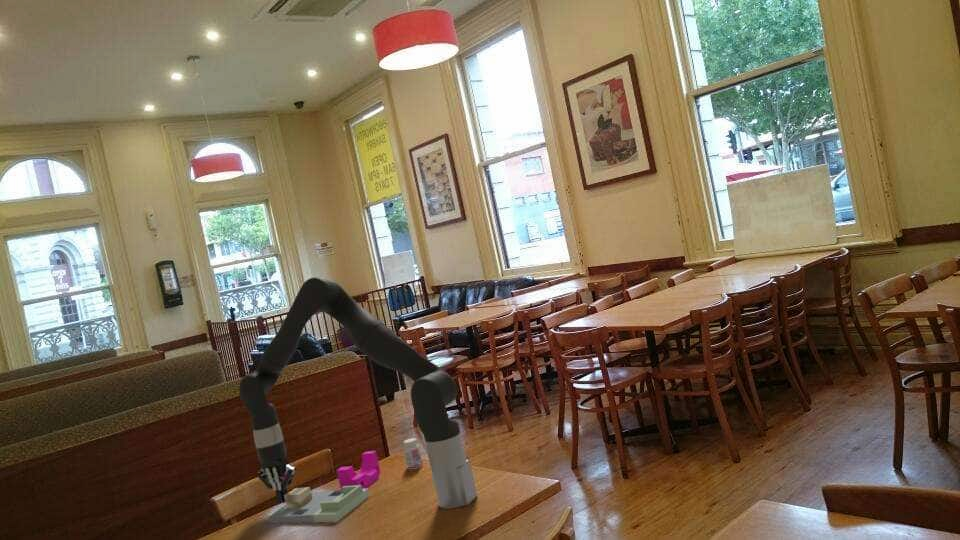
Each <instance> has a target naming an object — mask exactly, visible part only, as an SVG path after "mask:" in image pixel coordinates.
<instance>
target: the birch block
mask: <svg viewBox="0 0 960 540" xmlns="http://www.w3.org/2000/svg"><path fill="white" fill-rule="evenodd" d="M311 492H312V489H311V487H310V486H307V487H305V486H304V487H296V488H293V489H292V490H291V491H289V492H287V494H286V495H284V497H285V505H286V506H287V508H294V507H302V506H304V505H305V504H307V503H308V502H309V501H311V500H312V494H311Z"/></svg>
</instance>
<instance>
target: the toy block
mask: <svg viewBox="0 0 960 540" xmlns="http://www.w3.org/2000/svg"><path fill="white" fill-rule="evenodd" d="M361 455H362V457H361V458H362V460H361V467H360V469H359V471H358V473H357V472H356V471H355V468H354V467H353V466H352V465H351V466H341V467H340V468H338V469H336V473H337V478H338V483H339V488H340V490H342V487H343V486H354V485H362V488H363V489H366V488H368V487H369V486H371V485H372V484H373V483H375V482H376V481H378V480H379V479H380V476H379V474H381V468H380V464H379V458H378V455H377V451H376V450H370V451H369V450H368V451H364V452H363V453H362V454H361Z"/></svg>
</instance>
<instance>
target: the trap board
mask: <svg viewBox="0 0 960 540" xmlns="http://www.w3.org/2000/svg"><path fill="white" fill-rule="evenodd" d="M311 494H312V500H311V501H309V502H308V503H307V504H305V505H304V506H302V507H294V508H287V506H286V504H285V505H284V506H282V507H281V508H279V509H278V510H276V511H275V512H273V513H272V514H271V515H268V517H267V519H268V523H269V524H273V523H274V524H280V523H279V522H282V523H283V524H285V523H284V522H333V523H338V522H340V521H341V520H342V519H344V517H346V516H347V515H348V514H349V513H351V512H352V511H353V510H355V508H357V507H359V506H360V505H361V504H362V503H364V501H366V500H367V499H368V498H370V497H371V494H370V492H369V488H368V487H366V488H365V489H363V488H362V485H354V486H343V487H342V490H341V489H336V490H322V491H320V490H319V491H311ZM282 523H281V524H282Z"/></svg>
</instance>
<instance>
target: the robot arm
mask: <svg viewBox="0 0 960 540" xmlns="http://www.w3.org/2000/svg"><path fill="white" fill-rule="evenodd" d="M317 312H319V313H320V312H321V313H325V314H327V315H328V316H330V317H331V318H333V319H334V320H336V322H338V323H340V324H341V325H342V326H343V327H344V329H345V330H346V332H347V333H348V335H349V337H350V339H351V340H352V342H353V344H354V345H355V346H356V347H357V348H358V349H359V351H360V352H362V353H363V354H364V355H365V356H367V358H369V359H370V360H371V361H372V362H374V363H376V364H378V365H380V366H382V367H384V368H386V369H390V370H392V371H395V372H397V373H401V374H403V376H407V377H408V378H409V379H411V380H412V381H414V382H412V385H411V389H410V399H411V404H412V408H413V413H414V415H415V419H416V422H417V426H418V428H419V431H420V432H421V433H422V435H423V439H424V443H425V447H426V452H427V457H428V461H429V466H430V471H431V474H432V475H431V476H432V479H433V485H434V489H435V493H436V498H437V503H438V506H439V508H441V509H444V510H450V509H452V510H453V509H456V508H461V507H464V506H465V507H466V506H469V505H470V504H471V503H472V502H473V501H474V500H475V499H476V497H478V492H477V487H476V483H475V479H474V474H473V470H472V464H471V460H470V459H467V457H466V452H465V447H464V443H463V439H462V434H461V433H462V432H461V429H460V425H459V422H458V421H457V420H456V419H450V418H449V416H448V413H447V410H446V406H448V405H450V404H452V402H454V401H455V400H456V398H457V396H458V385H457V383H456V381H455V379H454V378H453V376H452V375H450V374H449V373H448V372H447V371H446V370H444V369H443V368H441V367H439V366H438V365H436V364H435V363H433V362H432V361H431V360H429V359H428V358H426V357H424V356H423V355H422V354H421V353H419V352H418V351H417V350H415V348H413V347H412V346H411V345H409V344H408V343H407V342H406V341H405V340H403V339H402V338H400V336H398V335H397V333H395V332H394V331H393V330H392V329H390V327H388V326H387V325H386V324H385V323H383V322H382V321H381V320H379V319H378V318H377V317H376V316H374V315H373V314H372V313H371V312H369V311H367V310H366V309H365V308H363V307H362V306H361V305H360V304H358V302H356V301H355V299H354V298H352V296H350V295H349V293H348V292H347V291H346V290H345V288H343V287H342V286H341V285H340V284H339V283H338V282H336V281H335V280H332V279H329V278H324V277H316V276H315V277H310V278H308V279H307V280H305V281H304V282H303V284H302V285H301V287H300V288H299V291H298V292H297V294H296V296H295V298H294V301H293V302H292V305H291V306H290V309H289V311H288V312H287V315H286V317H285V319H284V321H283V322H282V325H281V326H280V328H278V331H277V333H276V334H275V336H274V337H273V339H272V340H271V341H270V343H269V344H268V346H267V347H266V348H265V350H264V351H263V353H262V354H261V356H260V358H259V365H258V366H257V367H256V369H254V371H253V372H250V373H249V374H247V375H246V374H245V376H243V377H242V378H241V379H240V382H239V386H238V390H239V395H240V398H241V399H240V400H241V401H242V403H243V405H244V408H245V409H246V411H247V412H248V415H249V417H250V424H251V427H252V431H253V440H254V444H255V449H256V452H257V458H258V461H259V462H260V463H261V465H260V466H261V469H260V471H258V472H257V473H256V476H257V478H258V479H259V480H260V481H261V482H262V483H263V485H265V487H266V488H267V489H268V490H270V489H272V490H273V491H274V492H275V496H276V500H277V501H278V502H277V503H278V504H286V502H285V497H284V495H286V494H287V493H288V490H287V489H288V488H287V487H289V486H291V485H292V482H293V480H294V478H295V475H296V472H297V470H298V467H296V466H291V465H290V464H289V461H288V459H287V454H288V453H287V449H286V444H285V438H284V434H283V432H282V428H281V426H280V422H279V421H280V420H279V418H278V414H277V413H278V412H277V410H276V407H275V405H274V404H272V403H269V400H268V398H267V394H268V393H269V392H271V390H272V389H273V387H274V386H275V385H276V383H277V381H278V379H279V377H280V376H281V373H282V371H283V370H284V369H285V368H286V366H287V365H288V363H289V362H290V360H291V358H293V356H294V354H295V353H296V351H297V349H298V347H299V345H300V340H301V338H302V333H303V331H304V328H305V326H306V324H307V323H308V322H309V321H310V319H311V318H312V317H313V316H314V315H315V314H316V313H317Z"/></svg>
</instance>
